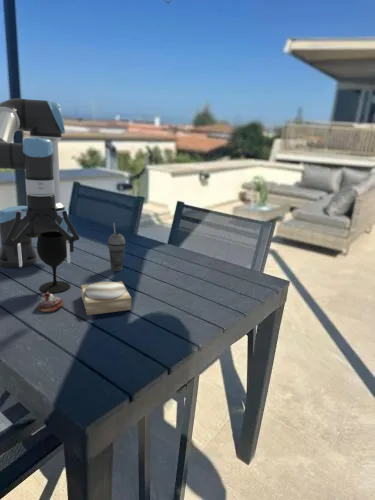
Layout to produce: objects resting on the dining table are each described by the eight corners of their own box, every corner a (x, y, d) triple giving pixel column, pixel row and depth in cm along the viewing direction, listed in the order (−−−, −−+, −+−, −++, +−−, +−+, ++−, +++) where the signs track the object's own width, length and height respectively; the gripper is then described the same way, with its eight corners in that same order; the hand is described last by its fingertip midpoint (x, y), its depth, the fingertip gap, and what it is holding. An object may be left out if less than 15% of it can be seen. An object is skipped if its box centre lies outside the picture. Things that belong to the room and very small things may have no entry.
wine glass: (41, 295, 120) (37, 239, 114) (38, 284, 129) (34, 231, 123) (72, 291, 125) (70, 237, 119) (67, 280, 134) (65, 229, 128)
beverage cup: (121, 273, 144) (121, 226, 138) (104, 270, 145) (104, 224, 139) (127, 267, 151) (128, 222, 145) (111, 265, 152) (111, 220, 146)
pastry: (37, 303, 115) (36, 289, 114) (62, 300, 118) (61, 287, 116) (38, 314, 108) (37, 300, 107) (63, 311, 111) (63, 297, 109)
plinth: (81, 296, 121) (81, 283, 120) (121, 292, 127) (121, 279, 125) (87, 315, 109) (86, 300, 108) (131, 309, 115) (131, 295, 113)
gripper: (-10, 196, 93) (-2, 271, 99) (87, 196, 102) (89, 264, 109) (-8, 192, 99) (0, 262, 105) (83, 192, 109) (85, 256, 115)
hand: (45, 263), depth 107 cm, fingers open, 13 cm apart
